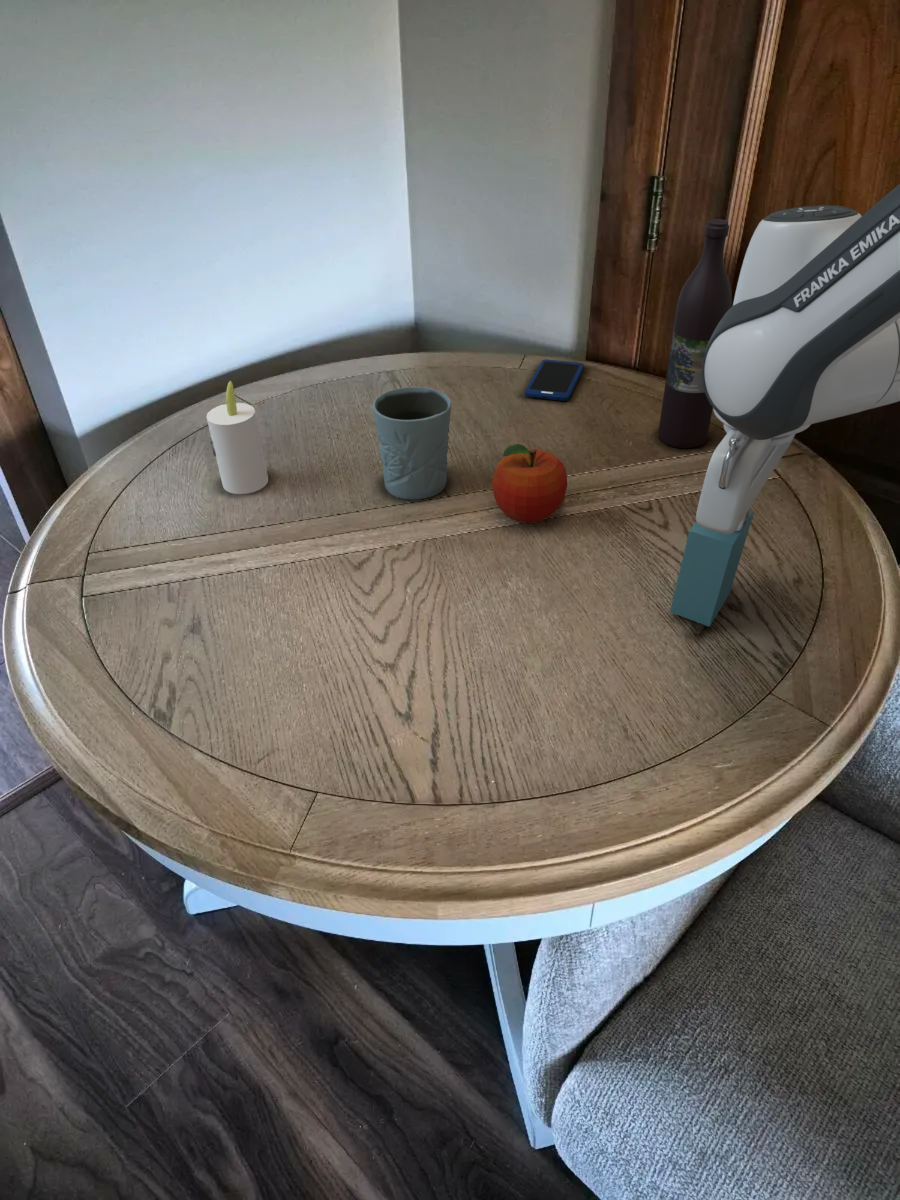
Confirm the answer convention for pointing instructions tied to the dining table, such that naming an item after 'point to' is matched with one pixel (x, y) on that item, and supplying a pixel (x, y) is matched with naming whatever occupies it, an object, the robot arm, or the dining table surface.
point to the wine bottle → (695, 343)
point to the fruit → (529, 484)
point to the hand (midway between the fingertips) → (735, 523)
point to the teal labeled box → (707, 572)
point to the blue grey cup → (413, 440)
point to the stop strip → (698, 629)
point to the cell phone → (554, 380)
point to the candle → (237, 445)
